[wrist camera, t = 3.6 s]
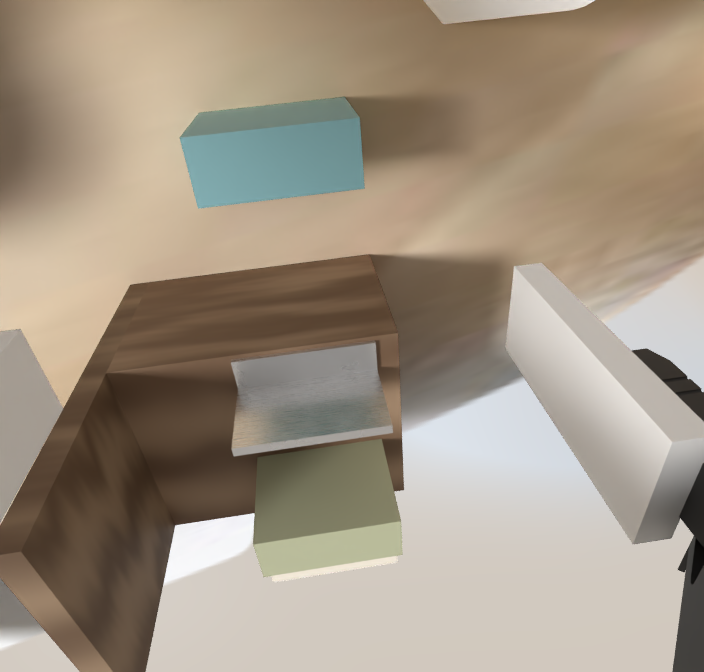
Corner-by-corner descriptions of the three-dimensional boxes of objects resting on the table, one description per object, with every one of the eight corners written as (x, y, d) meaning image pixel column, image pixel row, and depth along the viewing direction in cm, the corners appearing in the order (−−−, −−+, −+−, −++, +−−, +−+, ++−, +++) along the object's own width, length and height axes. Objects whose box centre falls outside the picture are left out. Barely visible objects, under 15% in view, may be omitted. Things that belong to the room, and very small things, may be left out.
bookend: (231, 359, 31) (222, 420, 26) (374, 340, 31) (391, 396, 27) (240, 393, 32) (233, 456, 28) (377, 373, 33) (392, 433, 28)
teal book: (199, 112, 34) (179, 137, 27) (344, 96, 35) (359, 117, 28) (213, 171, 36) (198, 208, 30) (349, 156, 37) (364, 188, 30)
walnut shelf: (130, 284, 40) (-18, 557, 20) (369, 254, 41) (453, 485, 21) (181, 421, 48) (112, 709, 29) (378, 393, 50) (445, 652, 30)
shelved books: (257, 457, 36) (253, 544, 30) (381, 438, 36) (400, 521, 30) (271, 509, 39) (270, 597, 33) (385, 492, 39) (403, 575, 34)
